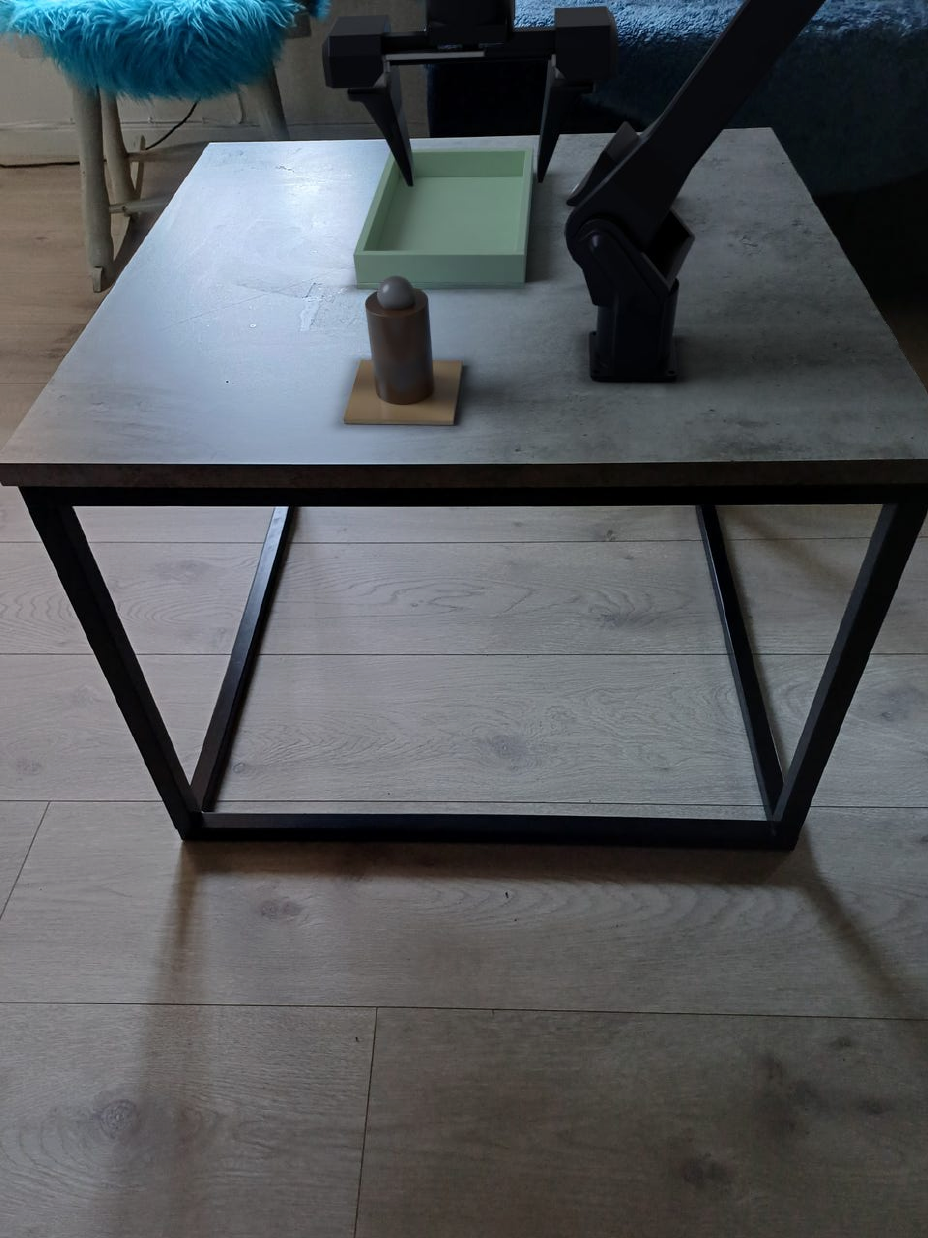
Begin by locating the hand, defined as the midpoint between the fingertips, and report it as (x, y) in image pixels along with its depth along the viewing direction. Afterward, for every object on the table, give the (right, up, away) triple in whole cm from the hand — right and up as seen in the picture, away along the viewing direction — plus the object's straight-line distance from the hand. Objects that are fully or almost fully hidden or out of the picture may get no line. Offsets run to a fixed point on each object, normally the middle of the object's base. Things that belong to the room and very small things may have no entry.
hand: (475, 182), depth 67 cm
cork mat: (-5, -14, +3) cm, 16 cm away
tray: (-2, +6, +22) cm, 23 cm away
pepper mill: (-5, -14, +3) cm, 15 cm away
